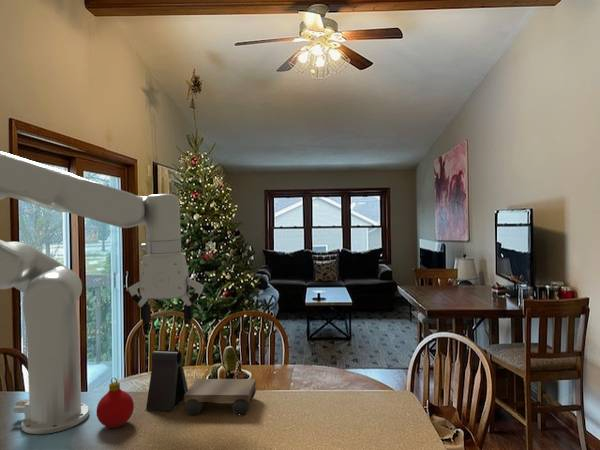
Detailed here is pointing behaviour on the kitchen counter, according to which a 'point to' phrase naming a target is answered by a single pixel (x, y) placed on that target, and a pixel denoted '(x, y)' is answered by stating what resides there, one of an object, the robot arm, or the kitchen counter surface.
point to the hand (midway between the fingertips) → (167, 322)
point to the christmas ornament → (115, 406)
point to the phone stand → (166, 381)
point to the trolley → (220, 394)
